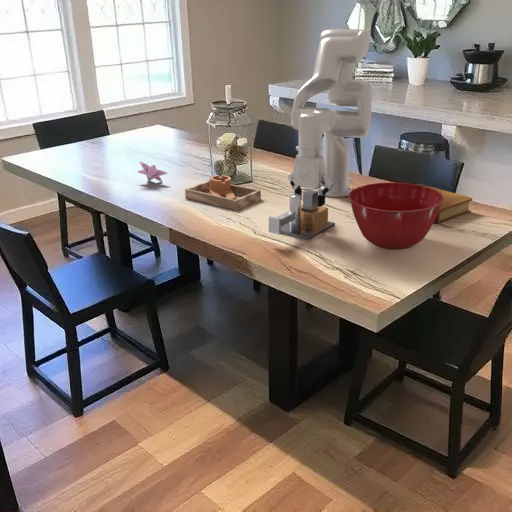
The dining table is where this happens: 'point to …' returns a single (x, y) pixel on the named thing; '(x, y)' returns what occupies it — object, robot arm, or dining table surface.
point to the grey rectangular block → (310, 201)
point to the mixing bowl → (395, 213)
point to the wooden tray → (247, 193)
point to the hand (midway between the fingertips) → (309, 203)
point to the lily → (151, 172)
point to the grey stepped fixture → (300, 221)
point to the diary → (451, 205)
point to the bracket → (221, 186)
